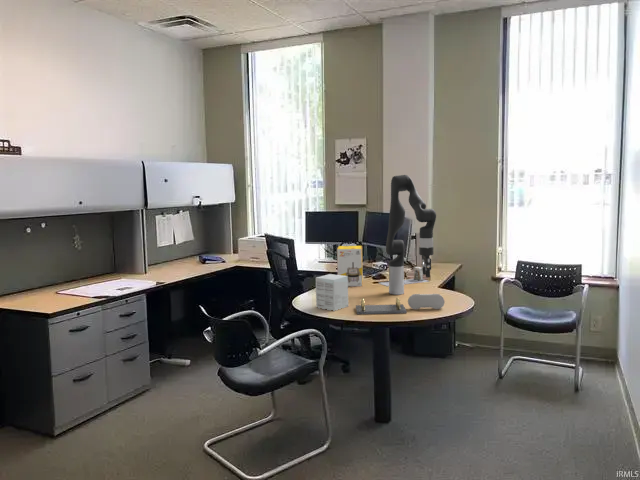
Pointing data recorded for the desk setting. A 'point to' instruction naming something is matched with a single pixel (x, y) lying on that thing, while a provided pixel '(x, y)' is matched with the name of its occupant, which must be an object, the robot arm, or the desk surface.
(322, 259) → the desk surface
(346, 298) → the supplement box
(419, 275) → the monument
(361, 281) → the packaging box
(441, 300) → the grey piece
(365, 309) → the standoff plate
